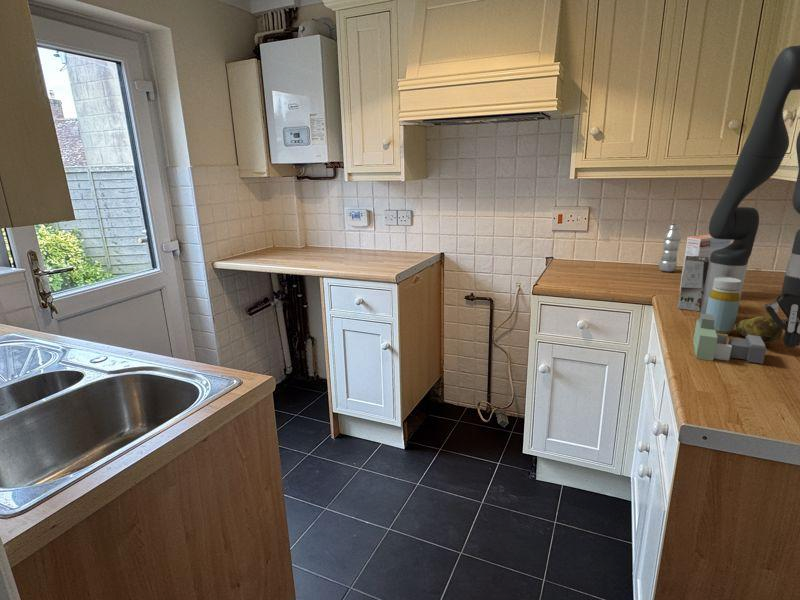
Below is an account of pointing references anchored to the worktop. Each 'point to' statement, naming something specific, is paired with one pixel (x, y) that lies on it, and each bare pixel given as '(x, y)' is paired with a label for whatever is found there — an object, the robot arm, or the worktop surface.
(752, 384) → the worktop surface
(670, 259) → the plastic bottle
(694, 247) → the cracker box
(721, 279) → the bottle
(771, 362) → the worktop surface
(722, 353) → the green block cluster
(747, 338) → the grey stepped block
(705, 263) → the coffee box
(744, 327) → the potato
